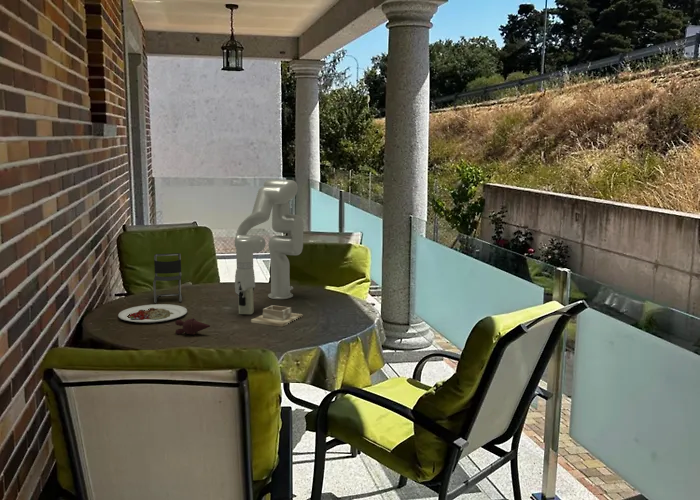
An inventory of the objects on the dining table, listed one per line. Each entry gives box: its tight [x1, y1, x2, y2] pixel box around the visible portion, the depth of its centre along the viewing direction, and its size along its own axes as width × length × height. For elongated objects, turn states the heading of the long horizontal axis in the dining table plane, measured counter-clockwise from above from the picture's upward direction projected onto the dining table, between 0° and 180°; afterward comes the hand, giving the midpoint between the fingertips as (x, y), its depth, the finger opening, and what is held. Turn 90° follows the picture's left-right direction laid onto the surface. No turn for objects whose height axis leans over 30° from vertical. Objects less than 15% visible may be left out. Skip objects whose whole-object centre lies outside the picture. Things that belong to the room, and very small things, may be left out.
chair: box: [152, 252, 183, 304], centre depth 327 cm, size 13×17×22 cm
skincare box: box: [237, 287, 255, 315], centre depth 302 cm, size 6×4×12 cm
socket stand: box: [250, 304, 304, 328], centre depth 293 cm, size 18×16×5 cm
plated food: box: [117, 303, 188, 324], centre depth 298 cm, size 30×30×3 cm
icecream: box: [175, 317, 211, 336], centre depth 270 cm, size 7×8×15 cm
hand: (246, 303), depth 302 cm, fingers closed on skincare box, 5 cm apart
